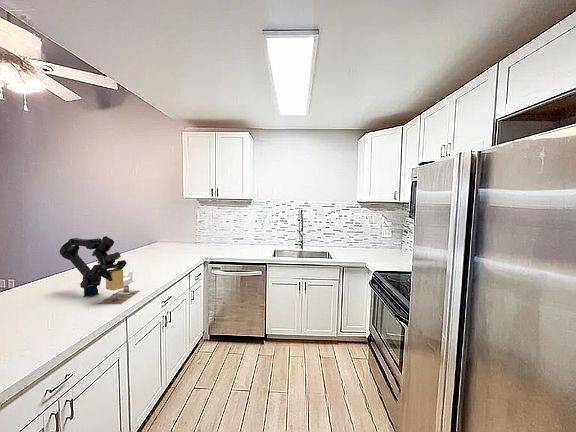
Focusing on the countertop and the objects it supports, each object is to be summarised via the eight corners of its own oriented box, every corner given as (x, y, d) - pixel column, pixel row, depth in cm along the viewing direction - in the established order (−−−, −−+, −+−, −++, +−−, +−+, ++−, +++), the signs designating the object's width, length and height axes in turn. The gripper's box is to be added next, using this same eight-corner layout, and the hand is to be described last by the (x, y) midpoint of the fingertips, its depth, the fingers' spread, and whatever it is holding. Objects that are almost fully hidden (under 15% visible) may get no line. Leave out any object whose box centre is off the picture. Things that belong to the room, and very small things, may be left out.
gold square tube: (113, 290, 185) (113, 271, 184) (106, 288, 188) (105, 270, 187) (123, 288, 190) (123, 269, 190) (115, 286, 193) (115, 268, 192)
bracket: (121, 281, 236) (121, 270, 236) (132, 282, 236) (132, 271, 236) (112, 286, 223) (112, 275, 223) (123, 287, 223) (123, 275, 223)
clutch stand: (121, 306, 184) (120, 295, 183) (97, 306, 183) (97, 295, 183) (140, 293, 210) (140, 283, 209) (120, 292, 209) (120, 282, 209)
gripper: (93, 250, 181) (107, 273, 177) (124, 245, 198) (138, 267, 194) (84, 263, 185) (97, 286, 181) (115, 258, 202) (128, 279, 198)
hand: (116, 279), depth 188 cm, fingers closed on gold square tube, 6 cm apart
